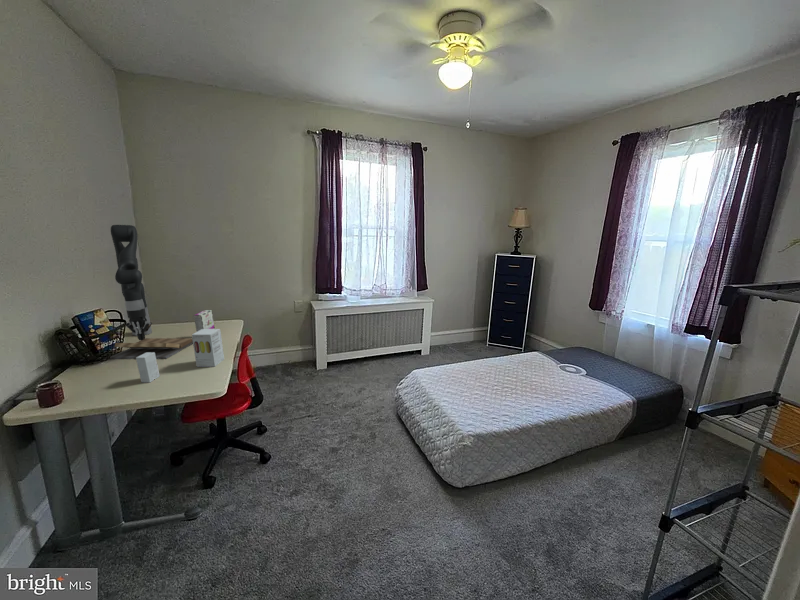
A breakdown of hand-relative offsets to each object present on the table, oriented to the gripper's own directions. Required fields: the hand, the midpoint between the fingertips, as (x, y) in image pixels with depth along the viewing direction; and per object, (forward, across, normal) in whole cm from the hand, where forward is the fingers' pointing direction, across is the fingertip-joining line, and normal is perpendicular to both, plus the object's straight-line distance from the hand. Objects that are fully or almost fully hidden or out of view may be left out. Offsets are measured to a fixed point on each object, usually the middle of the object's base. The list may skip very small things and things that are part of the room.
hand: (141, 339), depth 175 cm
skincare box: (+9, -25, +28) cm, 38 cm away
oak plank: (+5, 0, -3) cm, 6 cm away
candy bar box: (+9, -17, -27) cm, 33 cm away
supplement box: (+9, -42, +10) cm, 44 cm away
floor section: (+9, 0, -7) cm, 11 cm away
